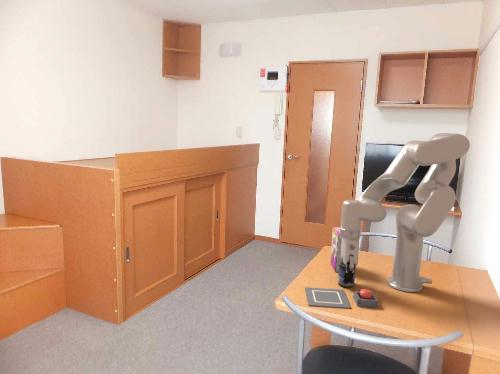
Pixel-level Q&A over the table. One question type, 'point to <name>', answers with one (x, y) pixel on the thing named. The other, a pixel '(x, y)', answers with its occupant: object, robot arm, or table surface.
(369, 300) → the button housing
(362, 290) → the button
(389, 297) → the table surface
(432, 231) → the robot arm
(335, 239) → the candy bar box
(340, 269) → the pill bottle
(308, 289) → the gray square pad
